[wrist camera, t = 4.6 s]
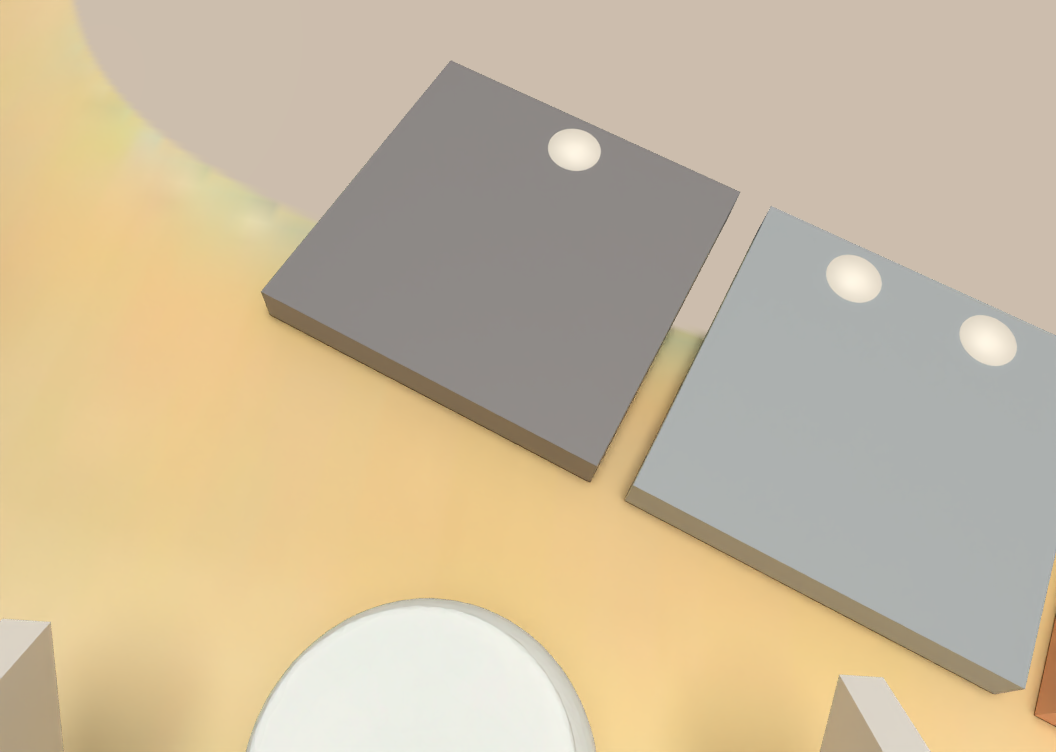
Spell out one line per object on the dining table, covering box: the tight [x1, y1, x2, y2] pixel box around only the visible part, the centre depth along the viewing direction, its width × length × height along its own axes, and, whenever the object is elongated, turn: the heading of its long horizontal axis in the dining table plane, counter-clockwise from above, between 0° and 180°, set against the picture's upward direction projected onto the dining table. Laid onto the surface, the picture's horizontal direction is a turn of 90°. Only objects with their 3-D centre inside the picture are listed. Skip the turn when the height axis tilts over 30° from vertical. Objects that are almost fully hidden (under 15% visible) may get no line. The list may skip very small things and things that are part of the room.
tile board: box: [261, 61, 1056, 726], centre depth 22 cm, size 32×10×1 cm, turn 62°
